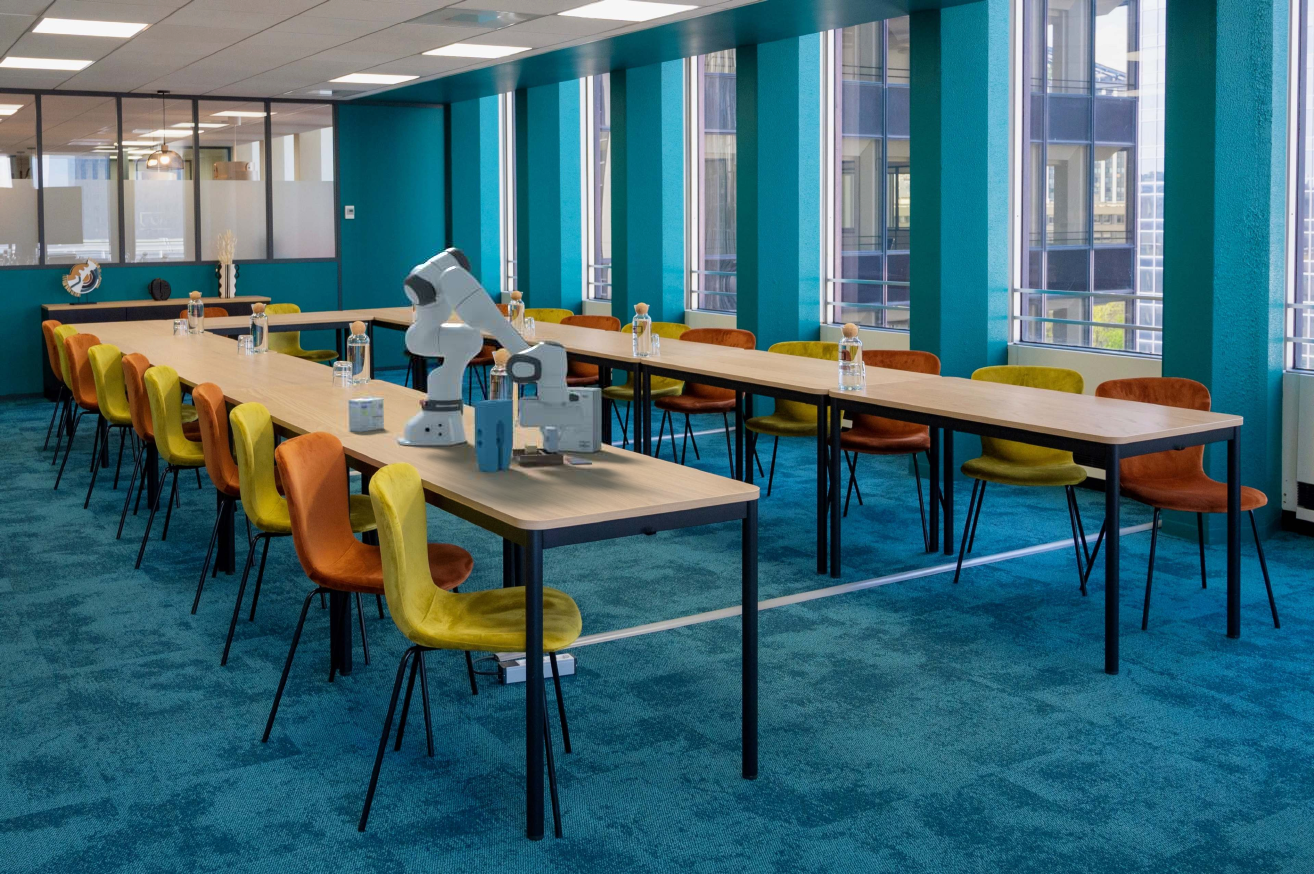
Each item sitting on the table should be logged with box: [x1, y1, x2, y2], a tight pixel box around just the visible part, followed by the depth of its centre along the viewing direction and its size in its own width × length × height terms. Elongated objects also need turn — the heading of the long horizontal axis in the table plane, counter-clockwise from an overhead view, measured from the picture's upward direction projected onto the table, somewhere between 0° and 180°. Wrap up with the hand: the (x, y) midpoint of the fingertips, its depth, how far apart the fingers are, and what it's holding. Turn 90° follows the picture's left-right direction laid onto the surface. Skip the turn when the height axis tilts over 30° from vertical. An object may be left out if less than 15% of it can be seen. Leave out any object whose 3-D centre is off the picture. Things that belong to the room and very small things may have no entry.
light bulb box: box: [348, 396, 385, 433], centre depth 437 cm, size 11×7×11 cm, turn 144°
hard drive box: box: [553, 386, 603, 454], centre depth 400 cm, size 16×8×20 cm, turn 71°
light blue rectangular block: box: [542, 427, 559, 452], centre depth 380 cm, size 3×9×6 cm, turn 18°
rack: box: [511, 447, 565, 467], centre depth 379 cm, size 13×13×3 cm
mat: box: [564, 456, 593, 466], centre depth 380 cm, size 6×10×1 cm, turn 17°
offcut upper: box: [524, 443, 538, 452], centre depth 380 cm, size 3×4×2 cm
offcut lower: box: [525, 450, 537, 455], centre depth 381 cm, size 3×4×2 cm
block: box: [474, 398, 514, 473], centre depth 364 cm, size 12×5×20 cm, turn 144°
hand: (552, 441), depth 377 cm, fingers closed on light blue rectangular block, 3 cm apart
